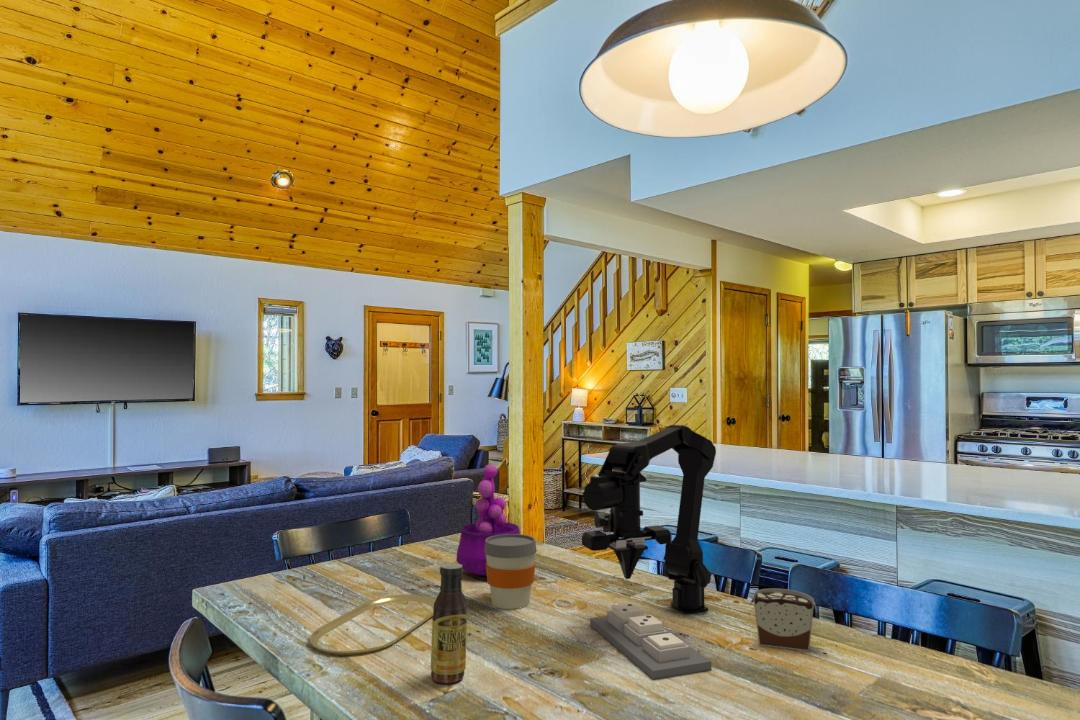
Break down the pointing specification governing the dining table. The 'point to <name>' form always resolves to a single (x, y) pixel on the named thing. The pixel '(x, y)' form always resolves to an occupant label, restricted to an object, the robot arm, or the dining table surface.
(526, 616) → the dining table surface
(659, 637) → the tile one dot
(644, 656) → the button panel
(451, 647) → the sauce bottle
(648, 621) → the tile three dots
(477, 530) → the decorative plant
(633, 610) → the tile two dots
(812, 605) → the food container
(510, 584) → the reusable coffee cup
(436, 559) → the dining table surface
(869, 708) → the dining table surface
